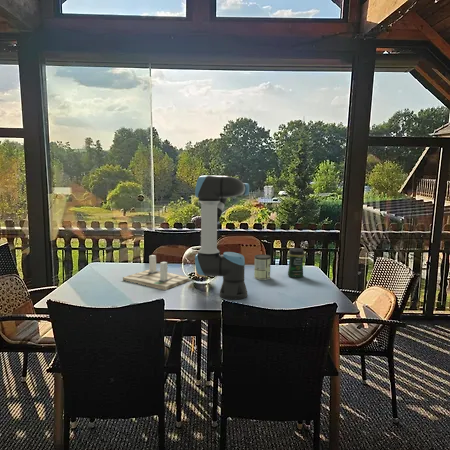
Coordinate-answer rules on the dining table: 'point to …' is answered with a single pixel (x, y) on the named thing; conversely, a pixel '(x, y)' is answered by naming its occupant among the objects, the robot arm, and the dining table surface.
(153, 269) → the grey lane knob
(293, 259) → the coffee jar
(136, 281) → the striped wooden board
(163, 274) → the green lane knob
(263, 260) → the coffee can
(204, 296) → the dining table surface
